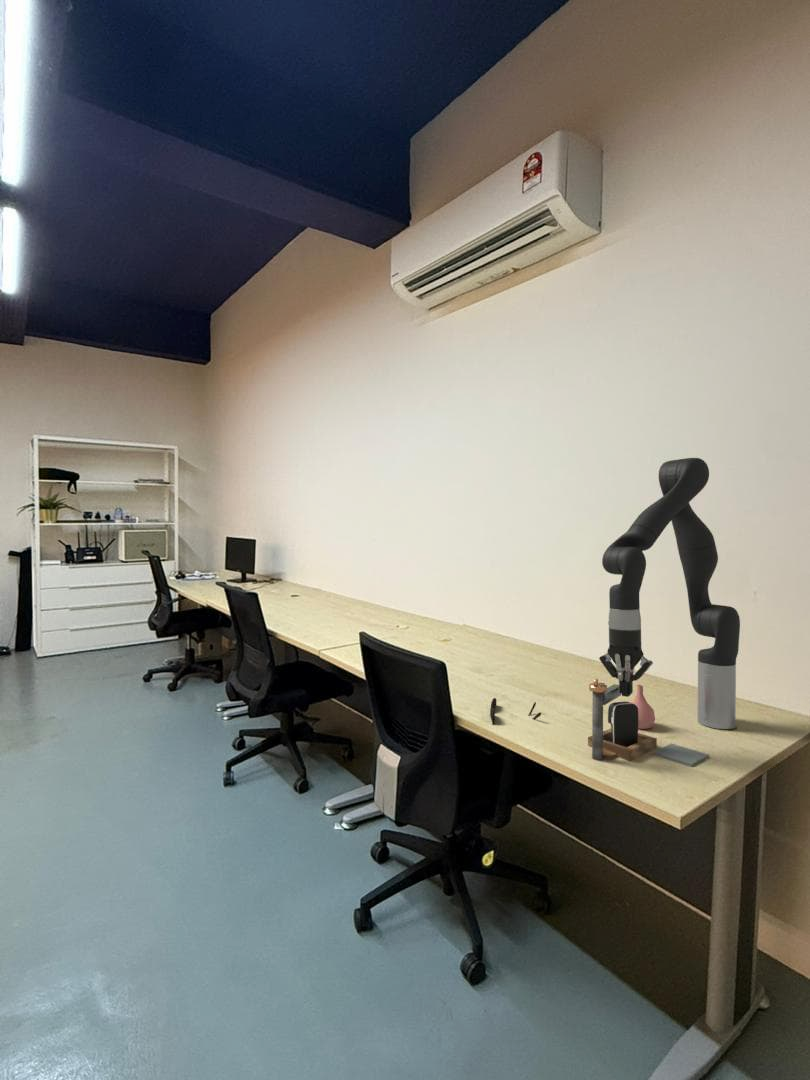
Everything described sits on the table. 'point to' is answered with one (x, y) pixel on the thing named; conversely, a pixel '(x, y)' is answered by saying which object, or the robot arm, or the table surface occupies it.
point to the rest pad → (681, 754)
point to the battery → (623, 723)
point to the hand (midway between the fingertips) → (625, 695)
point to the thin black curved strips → (493, 705)
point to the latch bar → (605, 691)
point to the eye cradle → (601, 738)
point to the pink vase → (643, 710)
